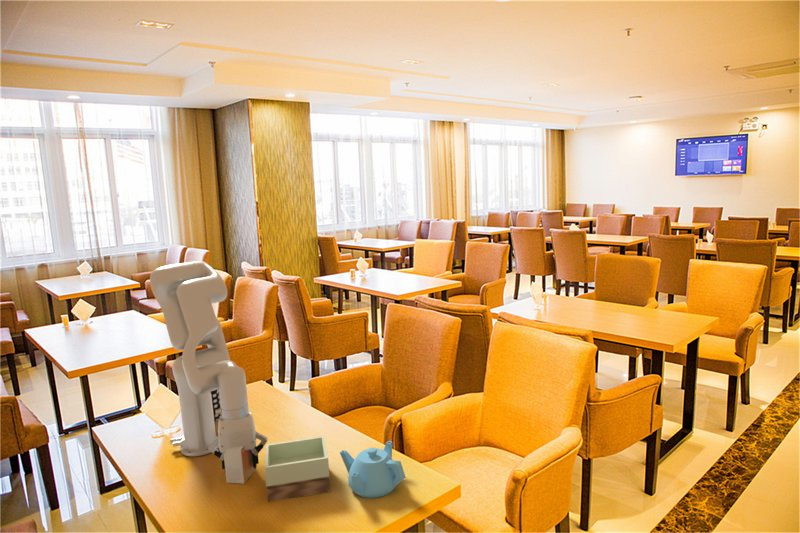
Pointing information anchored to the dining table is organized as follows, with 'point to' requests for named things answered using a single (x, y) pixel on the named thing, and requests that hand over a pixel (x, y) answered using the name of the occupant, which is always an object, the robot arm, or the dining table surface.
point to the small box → (238, 464)
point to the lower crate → (298, 489)
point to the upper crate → (296, 461)
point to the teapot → (373, 471)
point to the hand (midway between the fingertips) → (241, 468)
